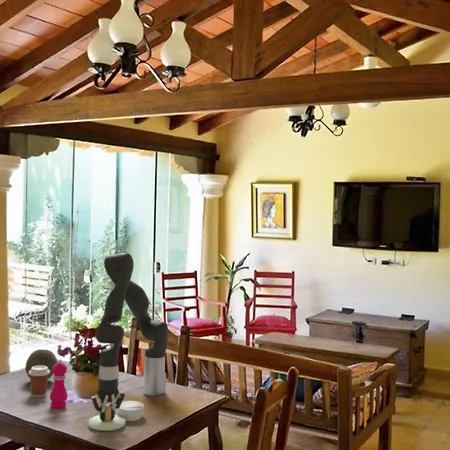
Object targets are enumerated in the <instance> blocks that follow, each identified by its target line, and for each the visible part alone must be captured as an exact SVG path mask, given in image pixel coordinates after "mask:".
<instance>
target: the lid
mask: <svg viewBox="0 0 450 450" xmlns="http://www.w3.org/2000/svg"><path fill="white" fill-rule="evenodd" d="M111 409H112V405H110V403H107V404H106V407H105V411H104V412H105V421H104V422H102V421H101V419H100V414H98V415H95V416H92V417H91V418H89V420H88V422H89V427H90V428H92V429H95V430H99V431H112V430H117V429H120V428H122V427H123V426H124V425H126V421H125V418H123V417H122V416H119V415H118V414H115V418H113V420H111Z"/></svg>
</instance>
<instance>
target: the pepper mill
mask: <svg viewBox="0 0 450 450" xmlns="http://www.w3.org/2000/svg"><path fill="white" fill-rule="evenodd" d="M67 370H68V367H67V366H66V364H65V363H63V361H62V360H61V359H57V364H55V365H54V366H53V368H52V372H53V375H52V376H53V377H52V379H53V387H52V389H51V391H50V394H49V399H50V409H53V410H64V409H65V408H66V407H67V402H66V401H67V400H68V392H67V390H66V389H67V388H66V386H65V379H66V373H67V372H68V371H67Z"/></svg>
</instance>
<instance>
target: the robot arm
mask: <svg viewBox="0 0 450 450" xmlns="http://www.w3.org/2000/svg"><path fill="white" fill-rule="evenodd" d="M134 262H135V261H134V259H133V256H132V255H131V254H130V253H129V252H121V253H117V254H110V255H108V256H106V257H105V258H104V261H103V266H104V267H103V268H104V270H105V272H106V274H107V276H108V277H109V278H110V280H111V281H112V282H113V284H114V285H115V286H114V287H113V288H112V290H111V291H110V292H109V294H108V295H107V298H106V300H105V304H104V312H103V315H102V317H101V319H100V323H99V324H98V327H97V329H96V331H95V339H96V341H97V342H98V343H99V344H113V346H112V347H109V348H104V349H102V350H101V351H100V352H99V353H100V354H99V368H98V388H97V389H98V390H97V392H96V394H95V395H93V396H92V395H91V396H90V400H91V402H92V403H91V404H92V405H93V407H94V409H95V411H97V413H98V412H99V415H100V419H101V421H102V422H104V421H105V412H104V411H105V407H106V404H110V405H112V409H111V420H113V418H115V415H116V411H117V408H120V406H121V403H122V402H123V401H124V398H125V396H126V395H125V393H124V392H123V391H119V375H120V372H119V371H120V369H119V354H120V349H121V345H122V343H123V339H124V335H125V331H124V328H123V326H122V325H116V324H114V323H117V322H118V323H119V322H120V321H121V320H122V317H123V309H124V305H125V304H124V303H126V305H127V307H128V309H129V310H130V312H131V313H132V315H133V317H134V319H135V321H136V322H137V326H138V328H139V330H140V333H141V335H142V337H143V338H144V339H146V340H148V341H151V342H153V341H154V342H153V346H152V347H151V346H150V347H148V348H145V350H144V371H143V373H144V374H143V375H144V376H143V394H144V395H145V396H151V397H153V396H155V397H156V396H158V397H159V396H161V394H162V395H164V394H166V389H167V388H166V387H167V382H166V381H167V372H165V369H166V368H165V366H166V365H165V364H166V363H165V362H166V352H167V348H168V337H169V327H168V323H166V322H164V321H160V320H154V319H152V317H151V316H150V314H149V313H148V311H149V307H150V299H149V297H148V295H147V294H146V291H145V290H144V288H143V287H141V285H139V284H137V283H136V282H134V281H133V280H131V278H132V275H133V271H134V268H135V267H134V265H135V264H134ZM113 324H114V325H113ZM163 393H164V394H163ZM99 400H100V401H99ZM98 401H99V403H98Z"/></svg>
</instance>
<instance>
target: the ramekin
mask: <svg viewBox="0 0 450 450" xmlns="http://www.w3.org/2000/svg"><path fill="white" fill-rule="evenodd" d="M144 409H145V405H144V403H142V401H138V400H137V401H136V400H123V401H122V403H121V406H120V408H117V409H116V412H117V415H119V416H122V417H123V418H125V422H133V421H134V422H135V421H138V420H140V419H142V418H143V413H144Z"/></svg>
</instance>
